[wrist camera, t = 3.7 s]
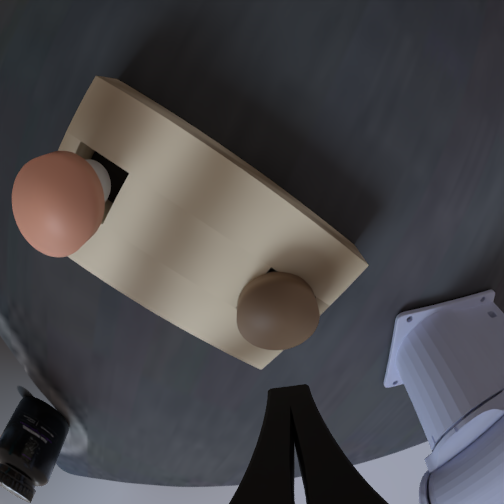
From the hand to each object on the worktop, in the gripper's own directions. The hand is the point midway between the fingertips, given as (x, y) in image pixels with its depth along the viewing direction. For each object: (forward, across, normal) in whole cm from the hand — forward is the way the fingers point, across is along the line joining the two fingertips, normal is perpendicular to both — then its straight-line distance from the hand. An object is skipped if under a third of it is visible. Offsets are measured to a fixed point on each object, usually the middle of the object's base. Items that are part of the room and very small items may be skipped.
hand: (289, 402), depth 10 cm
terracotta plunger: (+6, +8, -8) cm, 13 cm away
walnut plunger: (+9, 0, 0) cm, 9 cm away
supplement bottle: (+9, +28, +15) cm, 33 cm away
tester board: (+9, +4, -4) cm, 11 cm away
